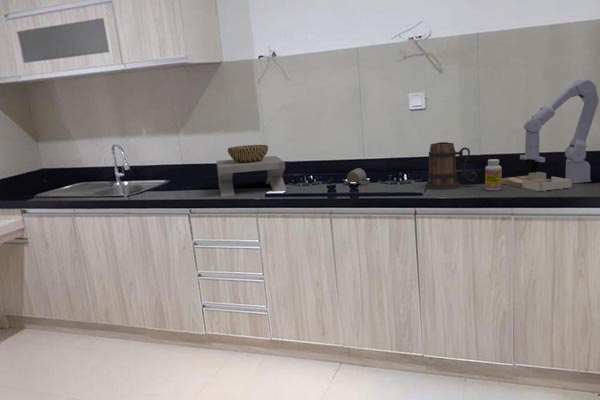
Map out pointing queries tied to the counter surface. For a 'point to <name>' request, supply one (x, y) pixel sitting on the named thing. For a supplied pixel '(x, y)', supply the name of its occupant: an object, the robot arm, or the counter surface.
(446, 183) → the tankard
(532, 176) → the tile sage
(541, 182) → the tile terracotta
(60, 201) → the counter surface
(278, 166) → the grey wooden stool
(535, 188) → the box
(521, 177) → the oak board
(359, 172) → the ceramic mug
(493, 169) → the supplement bottle
